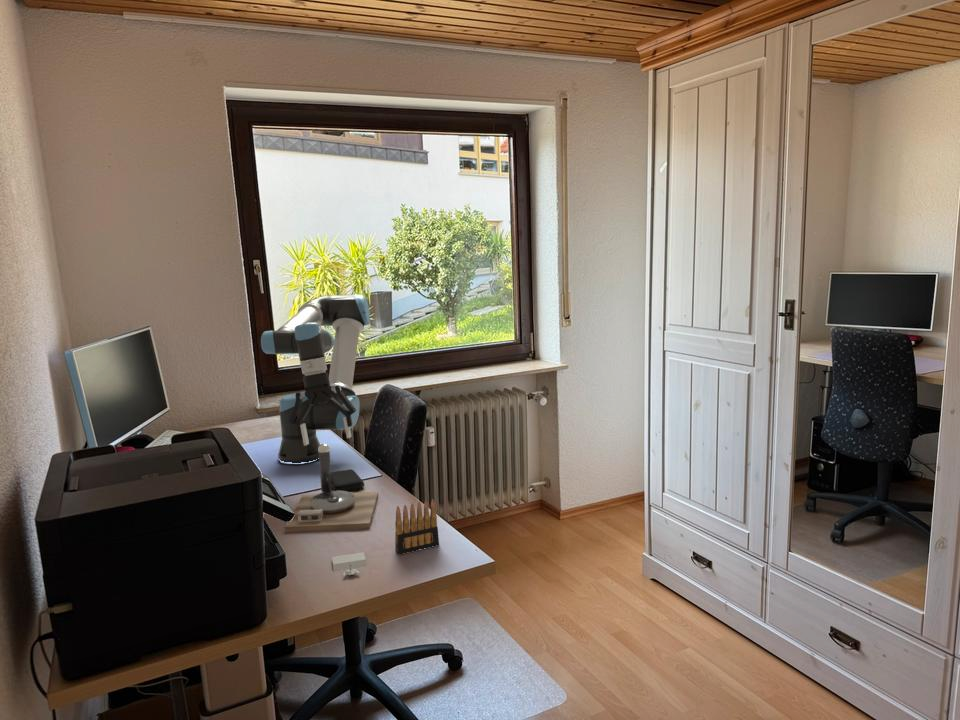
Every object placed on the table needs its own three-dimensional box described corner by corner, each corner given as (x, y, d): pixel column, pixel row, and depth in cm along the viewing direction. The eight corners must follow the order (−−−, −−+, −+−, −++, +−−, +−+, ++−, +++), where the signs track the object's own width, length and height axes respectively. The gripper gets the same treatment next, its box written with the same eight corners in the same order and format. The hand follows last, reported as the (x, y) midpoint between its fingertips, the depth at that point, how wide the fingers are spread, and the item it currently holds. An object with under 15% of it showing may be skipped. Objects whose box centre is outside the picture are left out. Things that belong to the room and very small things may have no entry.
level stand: (303, 499, 191) (302, 487, 191) (378, 496, 192) (377, 484, 192) (285, 532, 170) (283, 519, 169) (369, 528, 171) (369, 515, 170)
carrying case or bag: (321, 481, 207) (331, 497, 194) (320, 472, 207) (330, 487, 193) (354, 475, 211) (366, 490, 198) (354, 466, 211) (365, 481, 198)
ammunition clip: (436, 542, 161) (434, 497, 159) (439, 545, 160) (437, 499, 158) (395, 552, 157) (392, 505, 155) (397, 555, 155) (395, 508, 153)
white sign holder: (364, 557, 156) (363, 547, 155) (369, 581, 144) (369, 571, 144) (332, 562, 154) (331, 552, 153) (335, 587, 142) (334, 576, 142)
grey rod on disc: (359, 508, 179) (356, 453, 176) (315, 517, 174) (311, 460, 171) (346, 490, 193) (343, 439, 190) (305, 498, 188) (301, 445, 185)
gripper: (271, 381, 197) (284, 450, 197) (351, 367, 195) (364, 436, 195) (280, 379, 204) (293, 445, 205) (357, 365, 202) (370, 432, 203)
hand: (327, 441), depth 200 cm, fingers open, 13 cm apart
